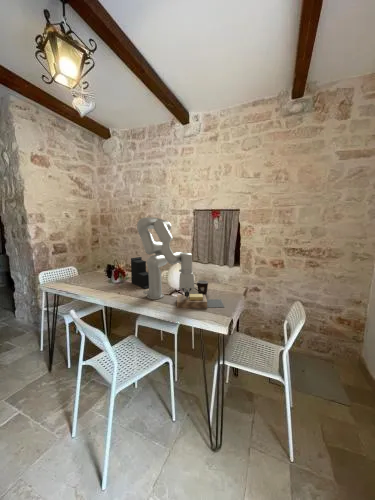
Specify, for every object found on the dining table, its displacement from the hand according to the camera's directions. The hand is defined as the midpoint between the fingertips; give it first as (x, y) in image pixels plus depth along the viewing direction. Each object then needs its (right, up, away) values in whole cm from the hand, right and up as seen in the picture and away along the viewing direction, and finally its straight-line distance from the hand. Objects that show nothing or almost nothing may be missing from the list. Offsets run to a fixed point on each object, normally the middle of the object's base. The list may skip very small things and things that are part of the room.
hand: (186, 297), depth 151 cm
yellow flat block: (+6, -1, 0) cm, 6 cm away
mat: (+19, -5, +1) cm, 20 cm away
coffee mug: (+11, -2, +21) cm, 24 cm away
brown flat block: (+3, -5, +1) cm, 6 cm away
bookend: (-39, +1, +44) cm, 59 cm away
